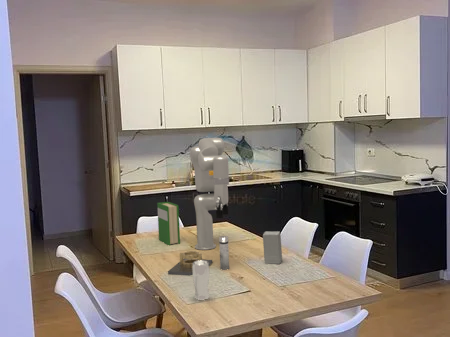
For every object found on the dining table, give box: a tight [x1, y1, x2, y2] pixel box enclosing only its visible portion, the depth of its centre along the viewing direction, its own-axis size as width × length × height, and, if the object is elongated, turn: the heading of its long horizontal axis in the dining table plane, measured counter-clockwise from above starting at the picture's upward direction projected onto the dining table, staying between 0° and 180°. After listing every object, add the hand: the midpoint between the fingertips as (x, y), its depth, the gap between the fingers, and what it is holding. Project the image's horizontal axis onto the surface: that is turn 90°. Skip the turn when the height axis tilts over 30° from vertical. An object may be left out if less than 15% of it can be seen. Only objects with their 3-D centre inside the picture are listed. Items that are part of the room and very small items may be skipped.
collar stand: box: [167, 251, 213, 276], centre depth 227 cm, size 22×16×8 cm
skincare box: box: [262, 231, 283, 265], centre depth 232 cm, size 8×7×16 cm
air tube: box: [218, 235, 230, 271], centre depth 224 cm, size 5×5×16 cm
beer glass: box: [192, 260, 210, 301], centre depth 186 cm, size 7×7×15 cm
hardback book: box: [156, 201, 181, 246], centre depth 283 cm, size 18×7×24 cm, turn 28°
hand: (222, 216), depth 223 cm, fingers open, 9 cm apart
